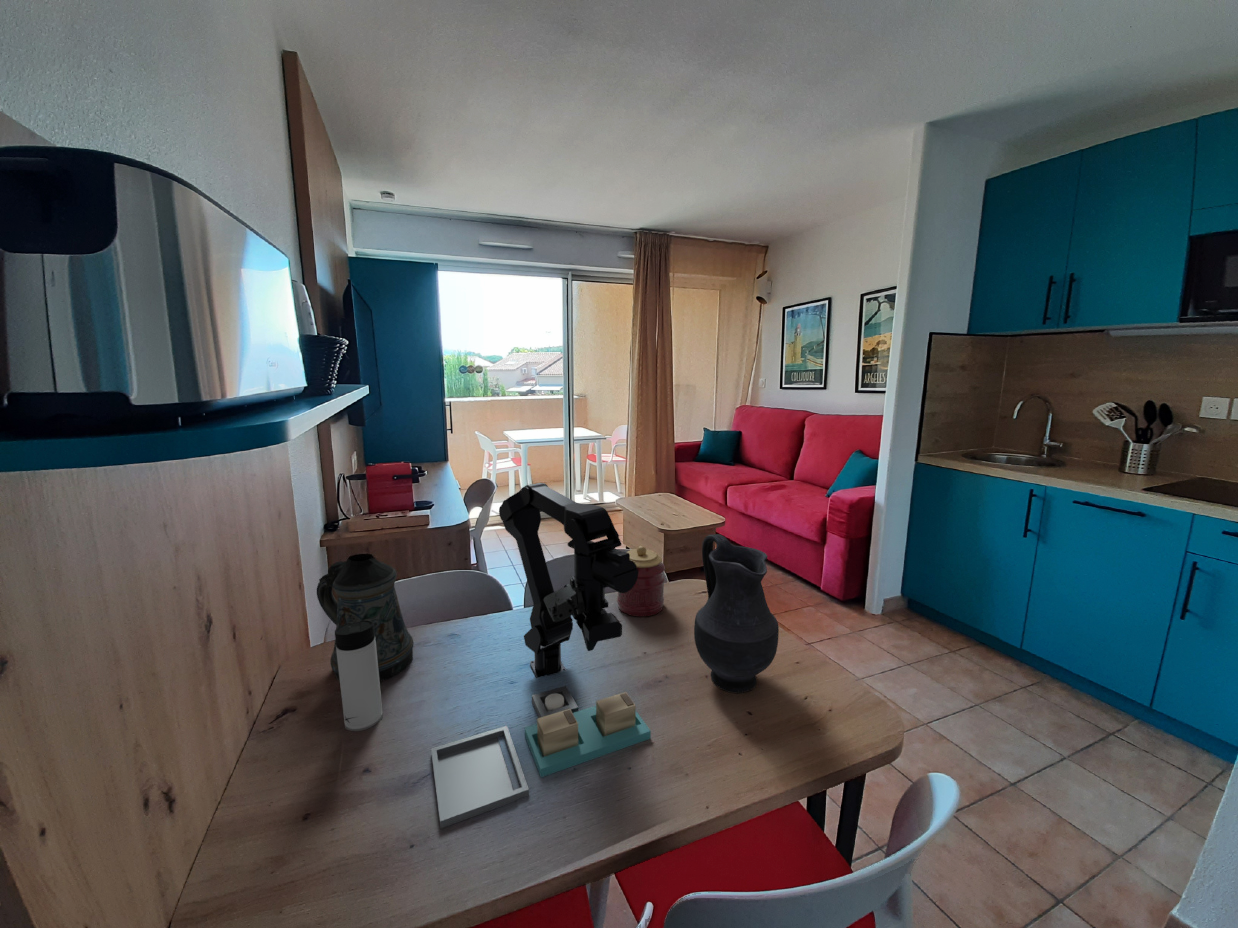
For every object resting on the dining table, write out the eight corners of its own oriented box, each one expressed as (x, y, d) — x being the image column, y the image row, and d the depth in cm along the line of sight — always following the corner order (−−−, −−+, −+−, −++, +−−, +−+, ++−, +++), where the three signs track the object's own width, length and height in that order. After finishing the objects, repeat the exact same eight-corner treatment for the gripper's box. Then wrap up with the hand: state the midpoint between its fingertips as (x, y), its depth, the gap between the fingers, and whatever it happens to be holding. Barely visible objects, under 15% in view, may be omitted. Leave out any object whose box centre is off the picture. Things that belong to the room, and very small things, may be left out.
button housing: (532, 706, 96) (531, 694, 95) (565, 696, 99) (565, 685, 98) (542, 730, 89) (542, 718, 89) (578, 718, 92) (578, 707, 92)
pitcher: (723, 715, 94) (732, 569, 88) (668, 657, 112) (673, 533, 106) (792, 692, 101) (805, 555, 95) (730, 641, 119) (738, 523, 113)
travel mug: (344, 740, 86) (332, 637, 82) (345, 717, 92) (334, 619, 88) (383, 729, 89) (374, 629, 85) (382, 706, 95) (373, 612, 91)
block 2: (596, 724, 89) (596, 700, 88) (625, 715, 92) (625, 691, 91) (604, 739, 86) (605, 714, 85) (635, 729, 88) (635, 704, 87)
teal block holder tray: (524, 739, 87) (524, 727, 87) (625, 707, 95) (625, 696, 95) (541, 782, 78) (540, 768, 78) (650, 743, 87) (650, 730, 86)
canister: (613, 615, 131) (613, 553, 127) (621, 593, 143) (621, 536, 140) (661, 619, 129) (663, 556, 125) (665, 597, 141) (667, 539, 138)
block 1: (537, 743, 85) (537, 717, 84) (570, 733, 87) (570, 707, 86) (544, 760, 81) (543, 733, 80) (578, 748, 84) (578, 722, 83)
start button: (542, 707, 95) (542, 696, 94) (560, 702, 96) (560, 691, 96) (548, 719, 92) (548, 707, 91) (566, 713, 93) (566, 702, 93)
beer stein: (408, 680, 103) (399, 569, 98) (304, 695, 98) (289, 579, 93) (419, 638, 119) (411, 541, 114) (329, 649, 114) (318, 548, 109)
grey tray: (431, 758, 83) (431, 748, 82) (507, 735, 88) (507, 725, 88) (441, 832, 70) (440, 821, 69) (529, 800, 75) (528, 789, 75)
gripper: (536, 561, 97) (538, 633, 100) (560, 603, 80) (562, 688, 83) (589, 554, 101) (589, 623, 104) (623, 592, 84) (622, 673, 87)
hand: (589, 649), depth 94 cm, fingers closed
